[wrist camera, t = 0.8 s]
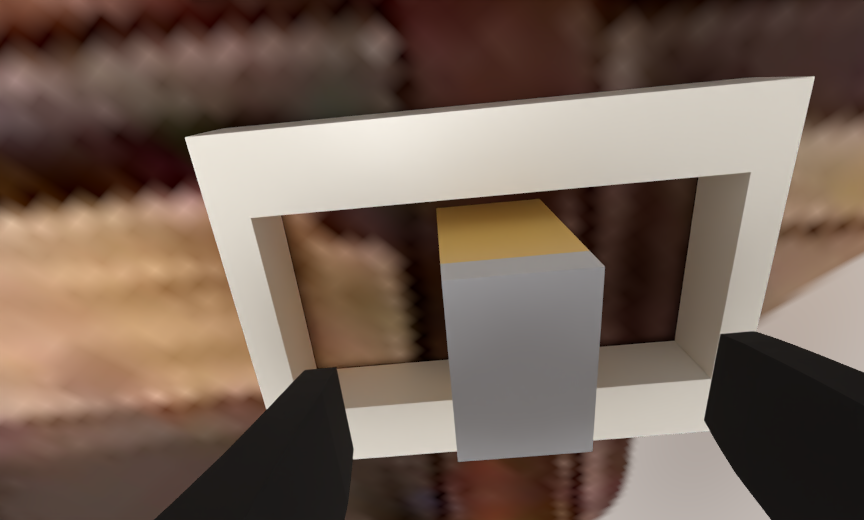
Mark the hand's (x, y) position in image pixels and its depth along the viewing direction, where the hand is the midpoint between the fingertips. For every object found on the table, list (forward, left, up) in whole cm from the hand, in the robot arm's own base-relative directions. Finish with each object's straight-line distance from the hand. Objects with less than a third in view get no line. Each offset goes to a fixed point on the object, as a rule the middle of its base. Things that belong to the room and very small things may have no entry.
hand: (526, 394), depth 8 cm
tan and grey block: (0, 0, -6) cm, 6 cm away
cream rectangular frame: (0, 0, -6) cm, 6 cm away
